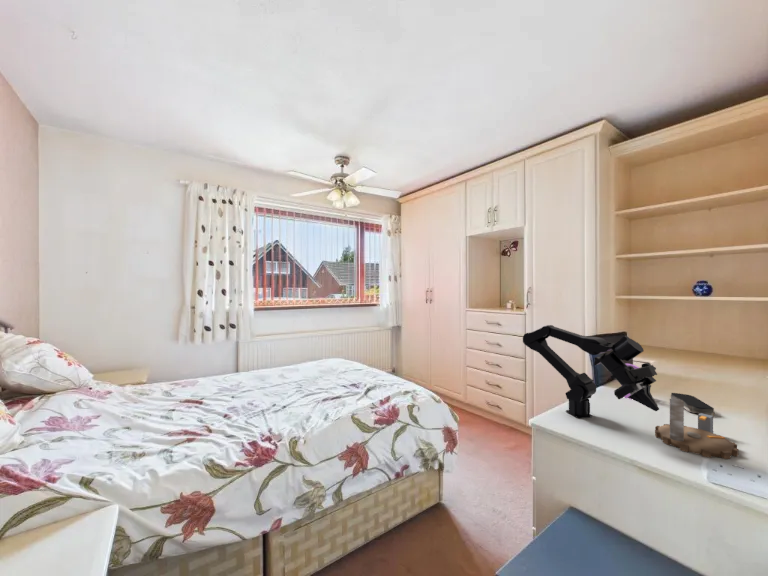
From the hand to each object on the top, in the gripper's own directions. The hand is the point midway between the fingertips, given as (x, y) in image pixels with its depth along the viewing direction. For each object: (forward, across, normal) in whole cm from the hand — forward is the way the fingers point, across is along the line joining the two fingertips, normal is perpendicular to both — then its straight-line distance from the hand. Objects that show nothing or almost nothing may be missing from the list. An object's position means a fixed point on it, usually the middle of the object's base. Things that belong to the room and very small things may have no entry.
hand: (657, 410), depth 103 cm
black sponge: (+5, +45, +9) cm, 46 cm away
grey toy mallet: (+12, +18, +2) cm, 21 cm away
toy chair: (-8, +41, +22) cm, 47 cm away
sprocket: (+12, +7, +2) cm, 14 cm away
